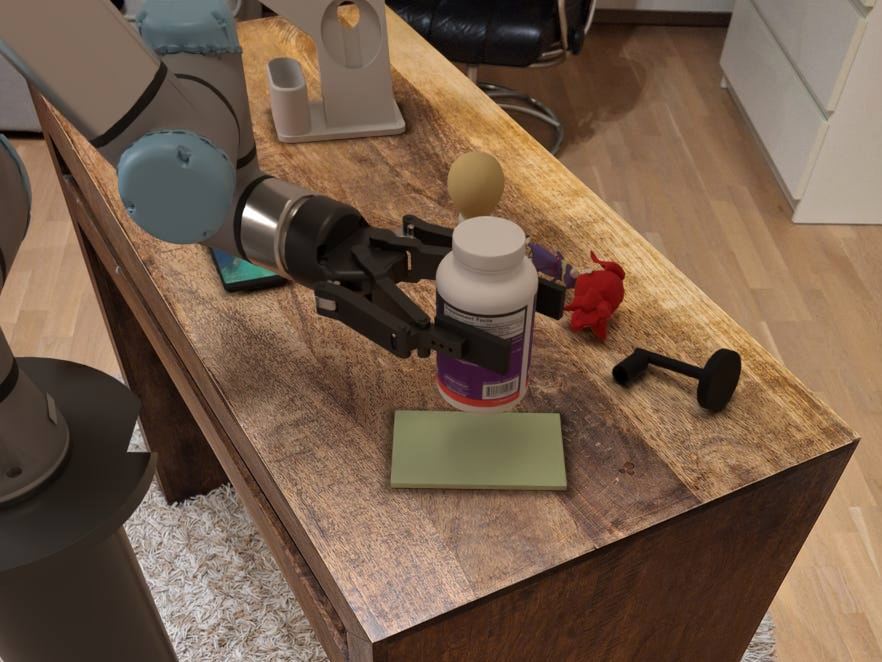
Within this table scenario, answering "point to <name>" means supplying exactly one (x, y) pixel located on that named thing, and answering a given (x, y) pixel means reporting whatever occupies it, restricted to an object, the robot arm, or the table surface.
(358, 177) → the table surface
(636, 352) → the light fixture
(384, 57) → the phone holder
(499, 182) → the light bulb
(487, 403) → the pill bottle
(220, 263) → the smartphone
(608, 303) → the figurine
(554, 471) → the mat
